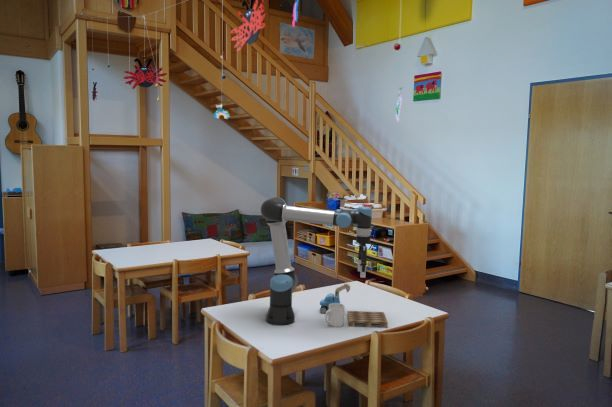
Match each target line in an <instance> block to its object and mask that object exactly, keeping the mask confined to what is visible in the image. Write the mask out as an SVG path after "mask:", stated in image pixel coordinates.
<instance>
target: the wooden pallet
mask: <svg viewBox="0 0 612 407" xmlns="http://www.w3.org/2000/svg"><path fill="white" fill-rule="evenodd" d="M346 311H347V313H346V314H347V316H346V317H347V323H348V327H355V324H364V327H366V328H367V327H368V328H372V324H380V327H381V328H385V329H387V328H388V324H389V323H388V320H387V319H388V318H387V317H386V314H385V312H384V311H362V310H361V311H358V310H346Z"/></svg>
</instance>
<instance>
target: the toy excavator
mask: <svg viewBox="0 0 612 407" xmlns="http://www.w3.org/2000/svg"><path fill="white" fill-rule="evenodd" d="M344 290H346V293H349V292H350V290H351V285H350V284H349V283H348V282H344V283H343V285H340V286H338V287H336V288H335V290H334V293H327V294H326V296H325V297H324V299H321V300H320V301H319V305H320V308H319V311H320V313H321V314H326V311H327V310H328V306H329V304H331V303H340V304H341V301H340V292H341V291H344Z"/></svg>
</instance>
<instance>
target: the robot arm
mask: <svg viewBox="0 0 612 407" xmlns="http://www.w3.org/2000/svg"><path fill="white" fill-rule="evenodd" d="M372 210H373V209H372V208H371V207H370V206H358V207H357V209H354V210H353V209H343V208H341V209H338V208H337V209H335V210H330V209H329V210H327V209H319V208H311V207H302V206H295V205H293V206H292V205H287V203H286V201H285V200H284V199H283V198H281V197H279V196H278V197H275V196H274V197H270V198H269V199H266V200H264V201H263V203H262V204H261V205H260V214H261V216H262V217H263V219H265V222H266V225H268V226H269V229H270V235H271V237H270V238H271V243H272V244H271V245H272V250H273V257H274V258H273V259H274V264H275V269H274V271H273V276H272V277H271V278H270V282H269V308H268V311H267V313H266V315H265V316H266V318H265V319H266V320H265V321H266V322H267V323H268V324H271V325H276V326H285V325H286V326H287V325H291V324H293V323H295V321H296V320H295V318H296V316H295V313H294V310H293V306H292V304H293V293H294V292H295V290H296V289H297V288H298V284H299V281H298V280H299V279H298V276H297V275H296V271H295V267H293V266H292V262H291V255H290V249H289V242H288V234H287V229H286V223H287V222H288V221H289V222H290V221H292V222H300V223H308V224H309V223H310V224H318V225H325V226H335V227H339V228H341V229H344V228H348V227H350V225H356V238H355V240H356V241H355V242H356V244H359V245H358V255H357V272H359V273H360V274H359V275H360V278H363V279H364V278H365V279H366V276H367V275H366V271H367V265H368V264H367V262H368V261H367V260H368V258H367V256H368V255H367V254H368V252H367V250H368V246H367V245H369V244H370V243H371V234H372V231H373V230H372V218H373V213H372V212H373V211H372Z"/></svg>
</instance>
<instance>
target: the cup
mask: <svg viewBox="0 0 612 407" xmlns="http://www.w3.org/2000/svg"><path fill="white" fill-rule="evenodd" d="M324 320H325V323H327V324H328V325H329V327H335V328H337V327H339V328H340V327H342V326H343V325H344V324H345V304H343V303H341V302H340V303H331V304H329V306H328V310H327V311H326V313H324Z"/></svg>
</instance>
